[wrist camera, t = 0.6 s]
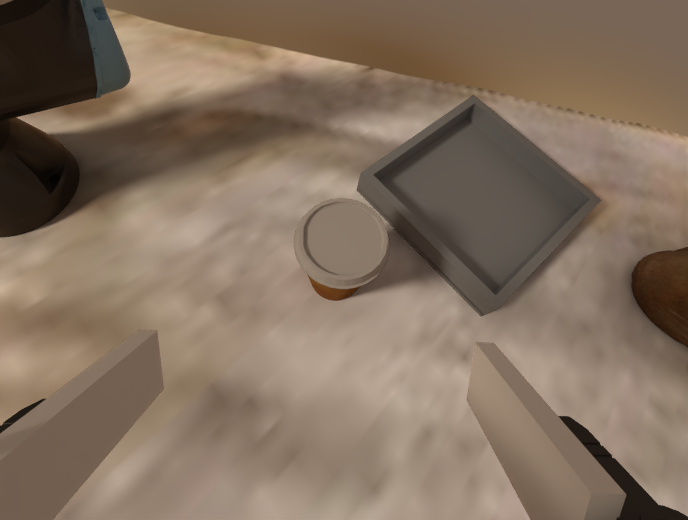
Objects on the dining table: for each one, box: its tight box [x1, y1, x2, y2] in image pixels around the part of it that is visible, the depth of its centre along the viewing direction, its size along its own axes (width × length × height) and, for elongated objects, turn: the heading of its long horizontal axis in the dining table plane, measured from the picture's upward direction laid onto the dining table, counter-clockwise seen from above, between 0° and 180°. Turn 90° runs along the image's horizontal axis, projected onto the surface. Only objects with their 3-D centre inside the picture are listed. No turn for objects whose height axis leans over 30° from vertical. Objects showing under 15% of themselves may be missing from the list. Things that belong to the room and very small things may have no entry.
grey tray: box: [357, 95, 601, 316], centre depth 47 cm, size 24×24×4 cm
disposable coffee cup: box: [294, 198, 390, 301], centre depth 37 cm, size 10×10×12 cm
